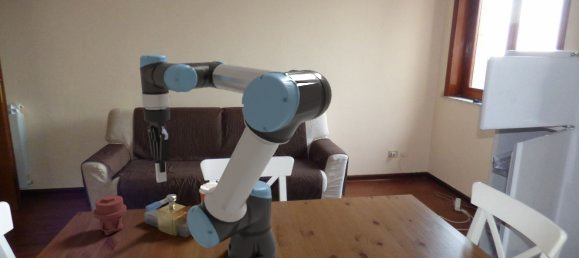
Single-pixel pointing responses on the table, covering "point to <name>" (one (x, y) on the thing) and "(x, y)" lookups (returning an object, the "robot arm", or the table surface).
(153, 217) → the pipe
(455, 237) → the table surface
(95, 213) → the mechanical component
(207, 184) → the coffee cup
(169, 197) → the lever
